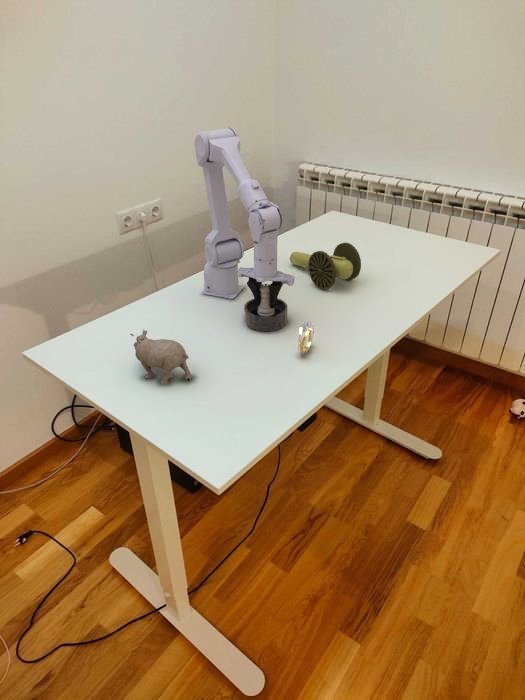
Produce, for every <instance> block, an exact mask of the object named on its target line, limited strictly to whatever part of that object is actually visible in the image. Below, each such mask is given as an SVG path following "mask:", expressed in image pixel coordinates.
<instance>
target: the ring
mask: <svg viewBox="0 0 525 700" xmlns="http://www.w3.org/2000/svg"><path fill="white" fill-rule="evenodd" d="M303 333H305V334H304V335H303ZM314 335H315V326H314V324H312V323H310V321H307V323H306V322H305V321H304V322H303V323H300V324H299V331H298V340H297V350H298V352H299V354H304V355H305V354H307V353H308V351H309V350H310V348H311V346H312V343H313V341H314ZM307 337H308V338H307ZM306 339H308V340H307V343H306V345H305V342H306ZM304 345H305V347H304Z"/></svg>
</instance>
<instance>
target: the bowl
mask: <svg viewBox="0 0 525 700" xmlns="http://www.w3.org/2000/svg"><path fill="white" fill-rule="evenodd" d="M258 307H259V306H256V302H255V299H254V298H251V299H249V300H248V301H246V302H245V304H244V307H243V314H244V315H243V316H244V317H243V318H244V323H245V325H246V326H248V327H249V328H251V329H253V330H256V331H261V332H269V331H275V330H279V329H281V328H282V327H284V326H285V325H287V323H288V307H289V306H288V304H287V302H286V301H284V300H283V299H281V298H278V297H277V301H276V306H275V307H274V314H273V315H272V316H269V317H263V316H260V315H259V314H258Z"/></svg>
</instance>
